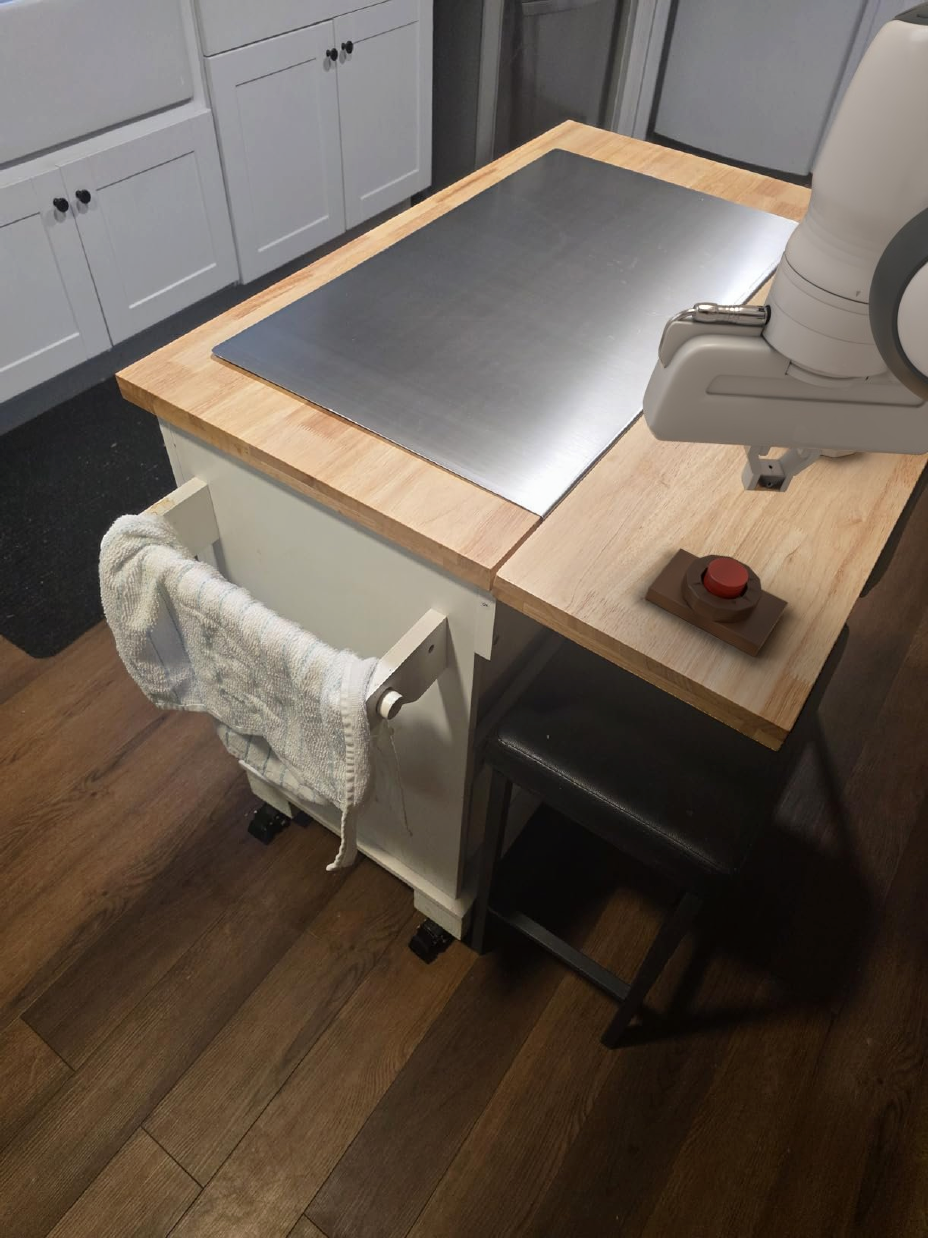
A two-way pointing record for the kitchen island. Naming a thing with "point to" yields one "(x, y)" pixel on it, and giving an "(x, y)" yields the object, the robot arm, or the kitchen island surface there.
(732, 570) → the bell button
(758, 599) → the block
